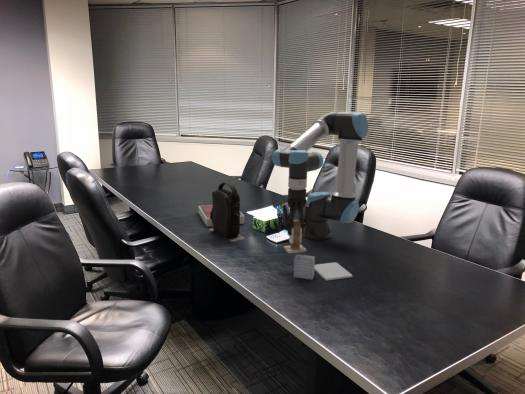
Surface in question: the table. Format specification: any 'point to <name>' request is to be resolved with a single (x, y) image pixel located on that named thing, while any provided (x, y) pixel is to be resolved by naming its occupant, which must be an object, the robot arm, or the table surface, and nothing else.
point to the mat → (331, 271)
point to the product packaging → (205, 215)
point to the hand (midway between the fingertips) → (295, 241)
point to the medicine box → (304, 266)
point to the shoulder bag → (226, 213)
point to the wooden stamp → (295, 239)
